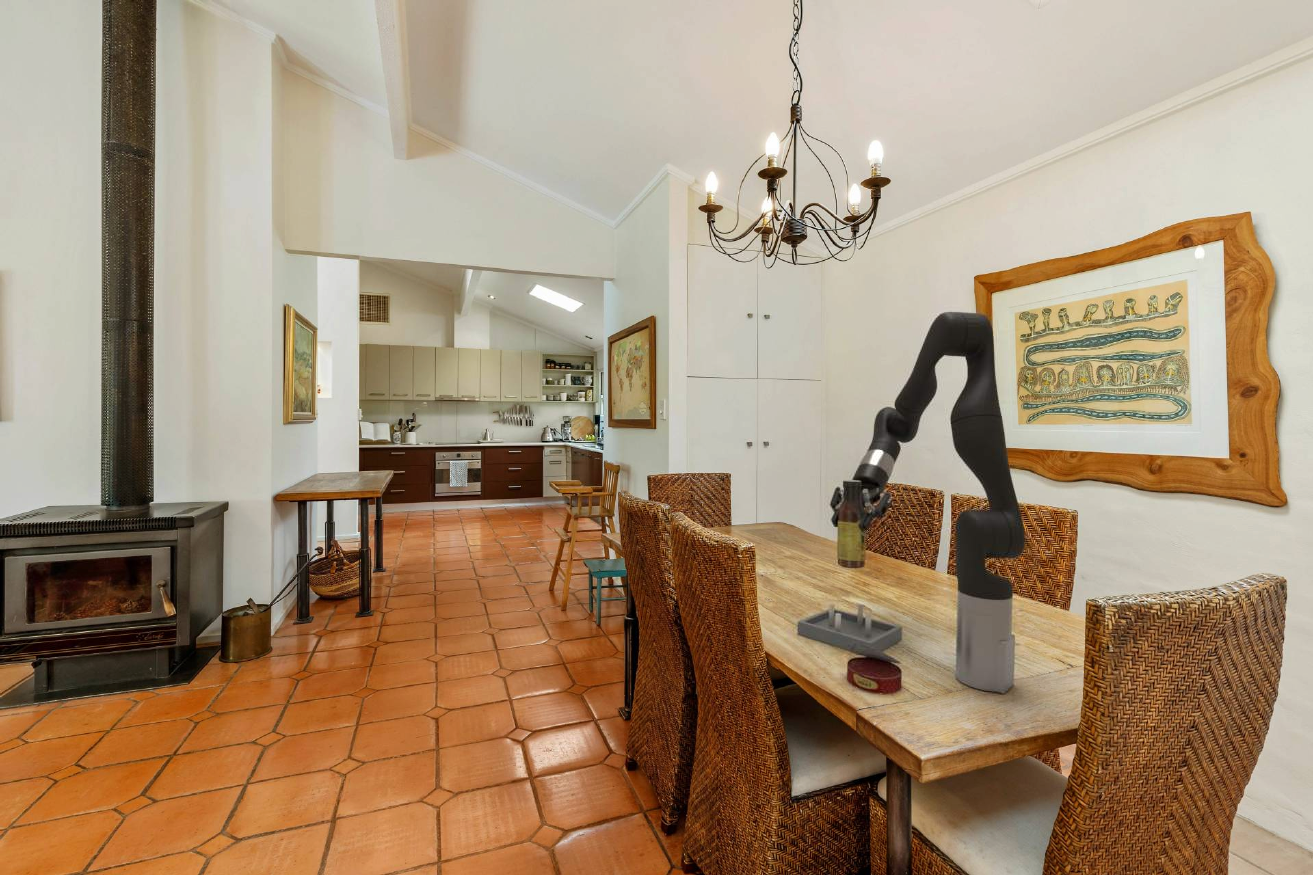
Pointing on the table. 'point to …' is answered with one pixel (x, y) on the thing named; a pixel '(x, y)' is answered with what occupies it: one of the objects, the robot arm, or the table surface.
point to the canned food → (873, 670)
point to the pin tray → (849, 629)
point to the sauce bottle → (851, 527)
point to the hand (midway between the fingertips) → (848, 526)
